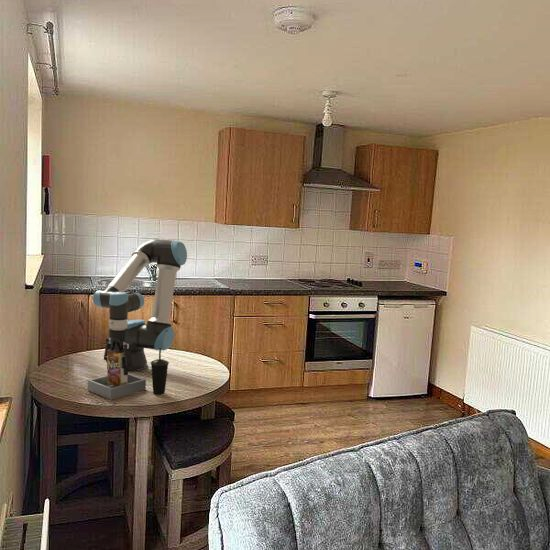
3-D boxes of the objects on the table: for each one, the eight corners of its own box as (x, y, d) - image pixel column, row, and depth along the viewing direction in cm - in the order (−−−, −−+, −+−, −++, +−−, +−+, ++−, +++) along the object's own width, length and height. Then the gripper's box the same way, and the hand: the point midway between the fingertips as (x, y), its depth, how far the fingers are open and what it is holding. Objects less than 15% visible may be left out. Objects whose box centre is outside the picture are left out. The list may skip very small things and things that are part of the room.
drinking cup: (151, 389, 235) (152, 345, 232) (168, 390, 235) (170, 345, 233) (148, 396, 227) (149, 350, 225) (166, 396, 228) (168, 350, 225)
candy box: (106, 383, 233) (106, 349, 231) (114, 381, 236) (115, 347, 234) (119, 388, 228) (120, 353, 226) (127, 386, 231) (128, 351, 229)
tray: (87, 390, 230) (87, 380, 229) (122, 381, 244) (122, 371, 244) (110, 399, 220) (111, 389, 220) (145, 389, 235) (145, 379, 234)
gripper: (95, 325, 232) (94, 375, 235) (127, 334, 220) (126, 387, 222) (109, 322, 238) (109, 372, 241) (141, 331, 226) (140, 383, 228)
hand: (117, 379), depth 232 cm, fingers closed on candy box, 9 cm apart
